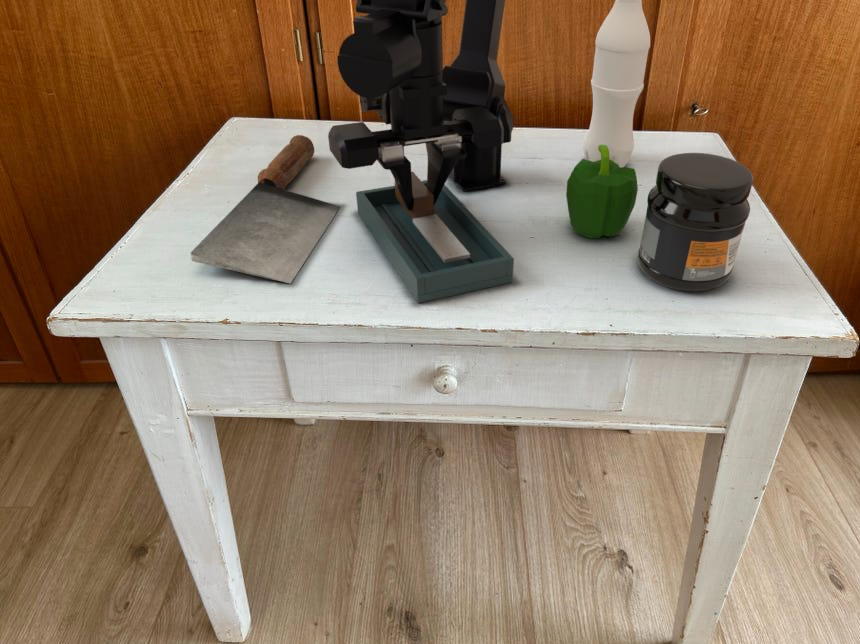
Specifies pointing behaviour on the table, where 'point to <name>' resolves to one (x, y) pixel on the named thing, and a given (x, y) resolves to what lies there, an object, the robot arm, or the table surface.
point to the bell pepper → (600, 196)
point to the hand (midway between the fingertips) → (420, 207)
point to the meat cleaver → (270, 223)
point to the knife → (432, 223)
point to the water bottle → (617, 81)
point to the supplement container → (694, 221)
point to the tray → (420, 259)
